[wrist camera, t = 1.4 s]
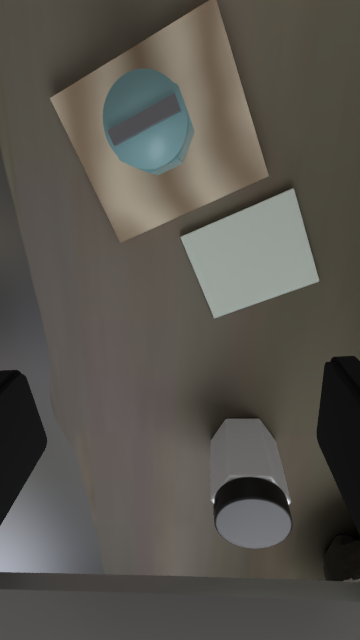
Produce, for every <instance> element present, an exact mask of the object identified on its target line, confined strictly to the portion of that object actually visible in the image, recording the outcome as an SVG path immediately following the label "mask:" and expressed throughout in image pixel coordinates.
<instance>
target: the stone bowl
mask: <svg viewBox="0 0 360 640" xmlns="http://www.w3.org/2000/svg"><path fill="white" fill-rule="evenodd" d="M324 574H325V578H326V581H344V582H360V540H356V541H355V540H354V539H353V538H352V537H351V536H349V535H338V536H336V537H335V538H334V540H333V542H332V544H331V545H330V547H329V549H328V551H327V552H326V554H325V556H324Z"/></svg>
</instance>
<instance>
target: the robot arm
mask: <svg viewBox="0 0 360 640" xmlns="http://www.w3.org/2000/svg"><path fill="white" fill-rule="evenodd" d="M317 440H318V443H319V446H320V448H321V450H322V453H323V455H324V457H325V459H326V461H327V464H328V466H329V468H330V470H331V472H332V475H333V477H334V479H335V481H336V484H337V486H338V488H339V490H340V492H341V495H342V497H343V499H344V501H345V504H346V506H347V508H348V510H349V512H350V515H351V517H352V519H353V521H354V524H355V526H356V528H357V530H358V532H359V535H360V361H359V360H358V359H357V358H356V357H355V356H342V357H333V358H332V359H331V362H326V363H325V367H324V375H323V383H322V392H321V400H320V408H319V417H318V425H317ZM46 445H47V437H46V434H45V431H44V428H43V425H42V422H41V419H40V416H39V413H38V410H37V407H36V404H35V401H34V398H33V395H32V393H31V390H30V387H29V384H28V381H27V378H26V376H24V375H23V374H21V372H20V371H18V370H7V371H6V370H4V371H0V525H1V524H2V522H3V520H4V518H5V517H6V515H7V513H8V512H9V510H10V508H11V506H12V505H13V503H14V501H15V500H16V498H17V496H18V495H19V493H20V491H21V489H22V488H23V486H24V484H25V482H26V481H27V479H28V477H29V476H30V474H31V472H32V471H33V469H34V467H35V465H36V463H37V462H38V460H39V459H40V457H41V455H42V454H43V452H44V450H45V448H46ZM0 640H360V582H344V581H323V580H299V579H264V578H229V577H193V576H153V575H110V574H63V573H10V572H0Z"/></svg>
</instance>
